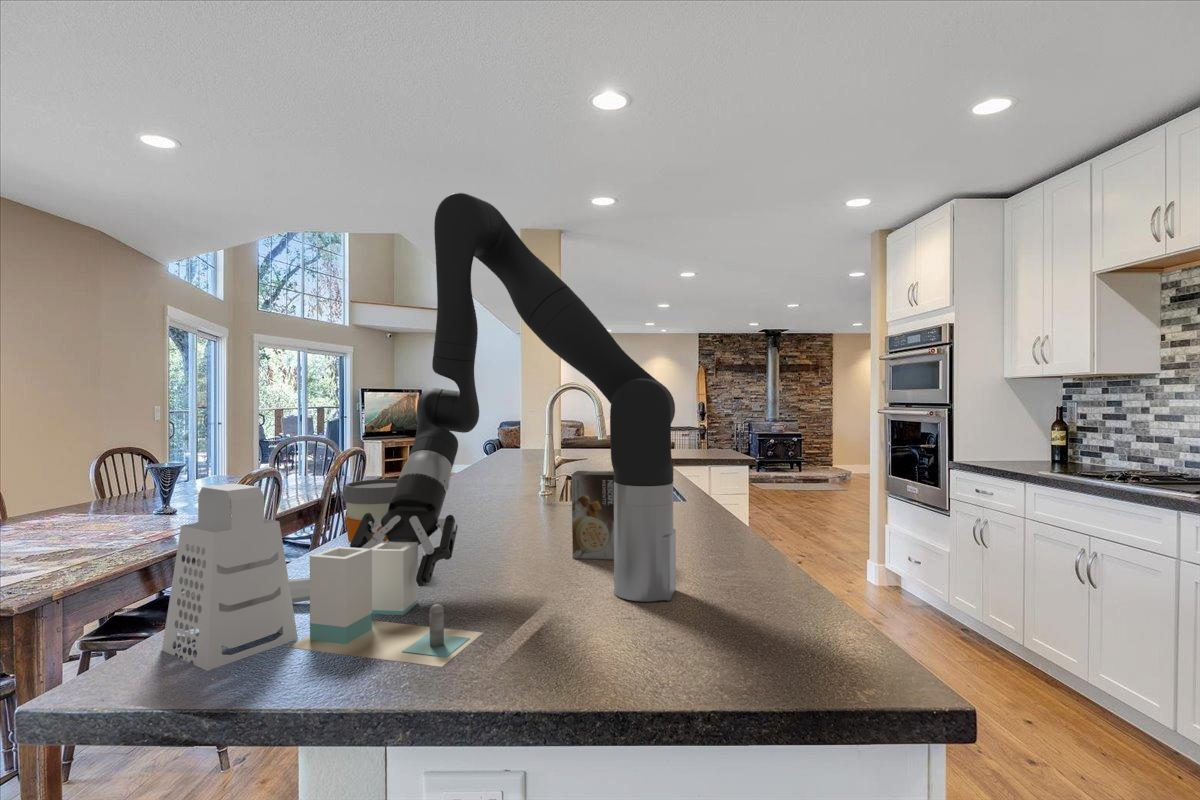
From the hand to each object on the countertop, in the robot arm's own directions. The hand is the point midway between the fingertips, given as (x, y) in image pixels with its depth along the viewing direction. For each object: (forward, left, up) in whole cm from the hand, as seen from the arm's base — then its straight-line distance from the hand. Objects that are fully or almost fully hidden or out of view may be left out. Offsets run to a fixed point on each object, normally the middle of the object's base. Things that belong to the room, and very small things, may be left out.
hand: (390, 582), depth 84 cm
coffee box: (-18, -41, -5) cm, 45 cm away
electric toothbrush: (+17, +2, -6) cm, 18 cm away
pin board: (-6, +9, -5) cm, 12 cm away
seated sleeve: (+1, +9, -4) cm, 10 cm away
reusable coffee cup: (+18, -24, -5) cm, 30 cm away
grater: (+11, +15, -5) cm, 20 cm away
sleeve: (0, -1, -5) cm, 5 cm away
